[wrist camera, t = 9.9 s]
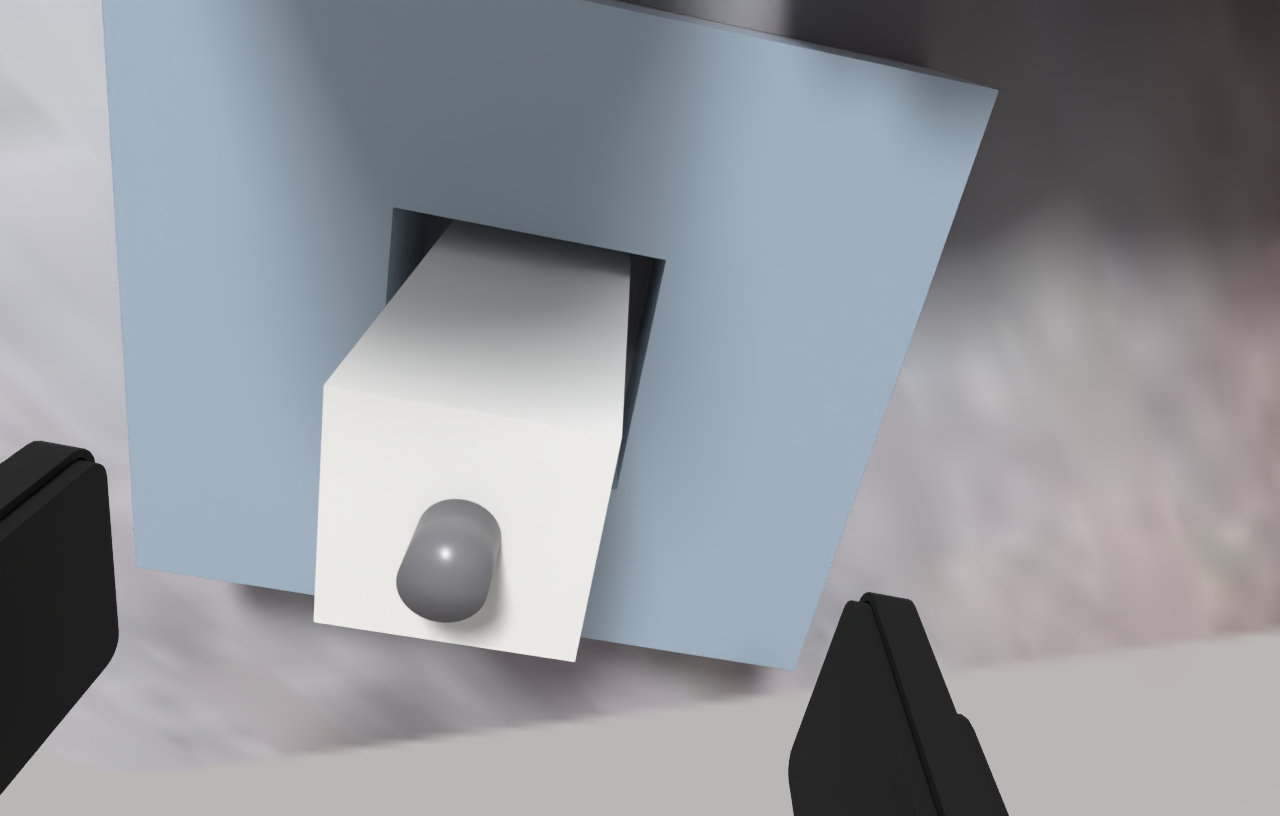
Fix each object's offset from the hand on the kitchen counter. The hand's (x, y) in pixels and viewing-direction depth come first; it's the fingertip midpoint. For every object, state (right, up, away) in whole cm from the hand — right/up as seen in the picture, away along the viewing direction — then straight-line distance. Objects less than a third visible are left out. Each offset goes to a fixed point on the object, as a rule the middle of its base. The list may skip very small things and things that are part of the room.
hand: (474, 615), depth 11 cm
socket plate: (-1, +6, +11) cm, 13 cm away
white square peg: (0, +5, +10) cm, 12 cm away
